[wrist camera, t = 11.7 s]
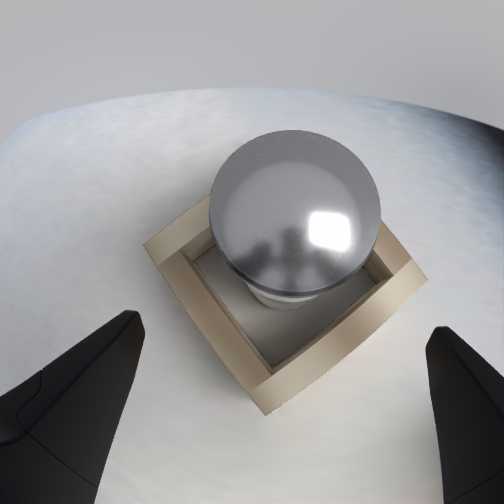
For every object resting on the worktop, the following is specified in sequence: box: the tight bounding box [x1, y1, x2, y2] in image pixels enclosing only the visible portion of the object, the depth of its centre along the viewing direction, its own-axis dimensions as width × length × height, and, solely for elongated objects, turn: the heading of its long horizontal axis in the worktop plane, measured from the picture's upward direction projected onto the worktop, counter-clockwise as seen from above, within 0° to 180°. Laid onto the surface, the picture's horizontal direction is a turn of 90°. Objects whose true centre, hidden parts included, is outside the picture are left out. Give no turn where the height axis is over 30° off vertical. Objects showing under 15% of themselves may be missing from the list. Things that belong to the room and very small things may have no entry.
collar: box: [143, 194, 428, 416], centre depth 17 cm, size 11×11×3 cm
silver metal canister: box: [209, 130, 381, 311], centre depth 13 cm, size 5×5×11 cm
